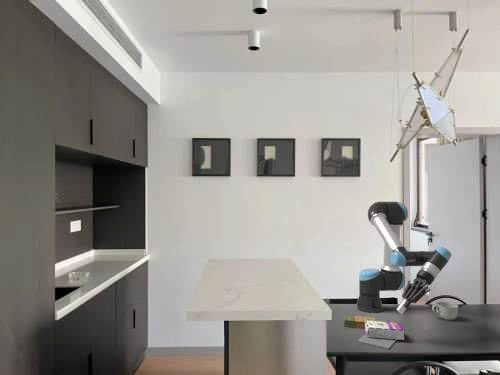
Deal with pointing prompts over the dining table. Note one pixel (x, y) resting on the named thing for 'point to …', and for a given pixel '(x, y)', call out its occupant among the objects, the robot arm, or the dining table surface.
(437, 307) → the teacup
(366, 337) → the mat
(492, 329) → the dining table surface
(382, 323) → the candy bar box
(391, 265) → the robot arm
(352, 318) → the carton
